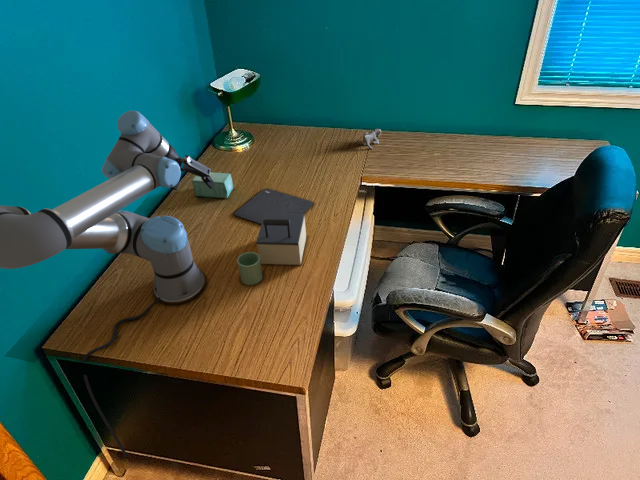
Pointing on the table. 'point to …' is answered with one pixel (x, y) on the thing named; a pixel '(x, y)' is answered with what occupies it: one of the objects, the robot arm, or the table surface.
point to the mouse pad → (272, 205)
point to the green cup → (250, 268)
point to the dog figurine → (371, 137)
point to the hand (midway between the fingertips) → (194, 186)
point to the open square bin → (283, 251)
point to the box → (214, 186)
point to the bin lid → (280, 229)
